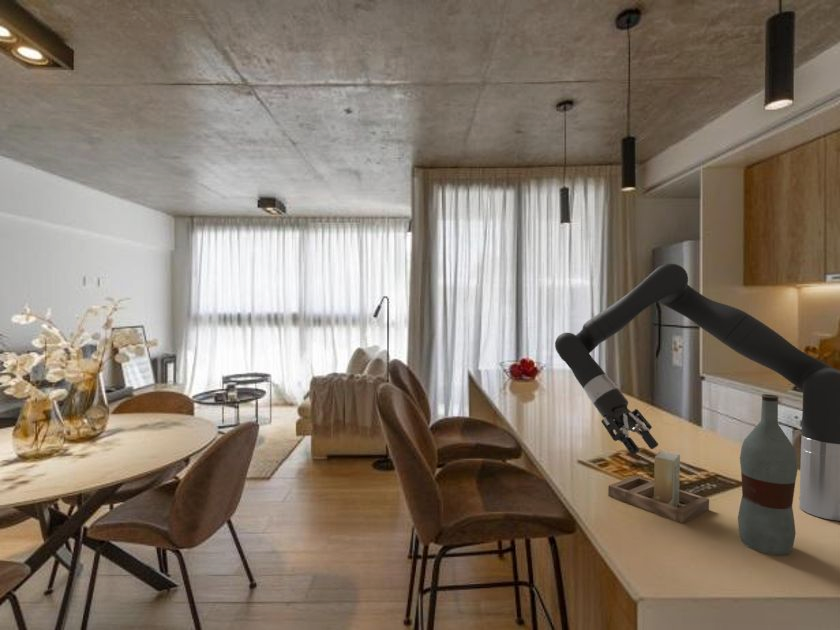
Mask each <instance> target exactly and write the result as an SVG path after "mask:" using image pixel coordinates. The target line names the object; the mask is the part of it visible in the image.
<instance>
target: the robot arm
mask: <svg viewBox="0 0 840 630" xmlns="http://www.w3.org/2000/svg"><path fill="white" fill-rule="evenodd" d="M657 302H658V303H659V304H661V305H663V306H664V307H667V308H668V309H671V310H673V311H674V312H677V313H678V314H679V315H682V316H683V317H685V318H687V319H688V320H691V321H692V322H693V323H694V324H696V325H697V326H698V327H700V328H701V329H702V330H704V331H705V332H707V333H708V334H709V335H711V336H712V337H714V338H715V339H717V340H718V341H720V342H721V343H723V345H725V346H726V347H729V348H730V349H731V350H733V351H734V352H736V353H738V354H739V355H741V356H743V357H745V358H746V359H749V360H751V361H752V362H755V363H756V364H759V365H761V366H762V367H763V366H764V367H765V368H767V369H770V370H772V371H773V372H775V373H777V374H778V375H780V376H782V377H783V378H784V379H786V380H787V381H788V382H790V383H791V384H792V385H794V386H795V387H796V388H797V389H798V390H800V391H801V392H802V410H801V411H802V414H801V415H802V416H801V439H800V440H801V445H800V469H799V471H800V472H799V474H800V475H799V496H798V497H799V498H798V499H799V502H798V503H799V504H798V506H799V507H798V508H799V509H800V510H802V511H804V512H805V513H807V514H809V515H812V516H815V517H817V518H818V517H819V518H822V519H826V520H831V521H839V522H840V370H839V369H837V368H834V367H833V366H831V365H828V364H826V363H825V362H823V361H820V360H818V359H816V358H815V357H812V356H811V355H809V354H807V353H805V352H804V351H802V350H800V349H799V348H797V347H796V346H794V345H793V344H792V343H791V342H790V341H788V340H787V339H786V338H785V337H783V336H781V335H780V334H779V333H778V332H776V331H775V330H774V329H772V328H770V327H769V326H768V325H767V324H765V323H763V322H761V321H760V320H759V319H757V318H755V317H754V316H752V315H751V314H749V313H747V312H746V311H743V310H742V309H739V308H737V307H734V306H731V305H728V304H725V303H721V302H719V301H716V300H712V299H710V298H708V297H706V296H704V295H703V294H701V293H700V292H698V291H697V290H695V289H694V288H693V287H691V286H690V285H689V276H688V273H687V271H686V269H685V268H684V267H682V265H681V266H680V265H679V264H676V263H665V264H663V265H660V266H658V267H657V268H655V269H654V270H653V271H652V272H651V273H650V274H649V275H648V276H647V277H645V278H644V279H643V281H641V282H640V283H639V284H638V285H637V286H635V287H634V288H633V289H632V290H631V291H629V292H628V293H627V294H625V295H624V296H623V297H621V298H620V299H619V300H617V301H615V302H614V303H613V304H611V305H610V306H608V307H607V308H605V309H604V310H603V311H601V312H599V313H598V314H596V315H594V316H593V317H592V318H590V319H588V320H587V321H586V322H585V323H584V324H583V325H582V328H581V330H580V331H579V332H577V333H576V334H574V333H572V332H563V333H561V334H559V335H558V336H557V337H556V339H555V341H554V342H555V343H554V349H555V351H556V352H557V354H558V356H559V357H560V358H561V360H562V361H564V362H565V364H566V365H567V366H568V367H569V368H570V370H571V371H572V373H573V375H574V377H575V379H576V380H577V382H578V383H579V385H580V386H581V387H582V389H583V390H584V392H585V393H586V395H587V397H588V398H589V400H590V401H591V403H592V404H593V406H594V407H595V408H596V409H597V411H598V413H599V414H600V415H601V417H602V419H601V423H602V425H603V426H604V428H605V429H606V431H607V433H608V434H609V435H610V437H611V439H612V440H613V442H617V441H619V442H620V443H622V444H623V445H624V446H625V448H626V449H627V450H628V452H629V453H630V455H632V456H635V455H637V454H638V453H639V452H640V448H639V447H638V445H637V444H636V442H635V441H634V440H633V438H632V437H630V435H629V431H631V432H632V433H636V434H638V435H639V436H640V437H641V438H642V440H643V441H644V442H645V444H646V445H647V446H648V448H649V450H653V449H654V450H655V448H657V447H658V446H659V443H658V442H657V440H656V439H655V438H654V436H653V435H652V434H651V432H650V431H651V429H653V426H652V424H650V423H649V421H648V420H647V419H646V418H645V416H644V415H643V414H642V413H641V412H640V411H639V409H637V408H635V409H633V411H632V410H630V409H629V408H628V405H629V401H628V399H627V398H626V397H625V396H624V394H623V393H622V392H621V390H620V389H619V388H618V386H617V385H616V384H615V383H614V381H613V380H612V379H611V378H610V377H609V376H608V375H607V373H605V371H604V370H603V369H602V367H601V366H600V365H599V364H598V363H597V362H596V360H595V359H594V358H593V357H592V355H591V354H590V353H591V352H593V351H594V350H595V349H596V347H598V346H599V345H600V344H601V343H603V342H604V341H606V340H607V339H609V338H611V337H613V336H614V335H615V334H617V333H618V332H620V331H621V330H623V329H624V328H625V327H626V326H627V325H629V324H630V323H631V322H632V321H633V320H634V319H635V318H636V317H637V316H639V315H640V314H641V313H643V312H644V311H645V310H646V309H647V308H649V307H650V306H652V305H653V304H655V303H657Z"/></svg>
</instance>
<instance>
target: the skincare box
mask: <svg viewBox="0 0 840 630" xmlns="http://www.w3.org/2000/svg"><path fill="white" fill-rule="evenodd" d="M680 467H681V453H680V454H679V453H675V452H670V451H664V450H660V451H659V452H658V453H657V454H656V455H655V456H654V467H653V468H654V470H653V471H654V472H653V475H654V476H653V481H654V496H653V499H654V500H657V501H659V502H662V503H665V504H668V505H671V506H674V507H677V508H678V505H679V504H680V502H679V489H680V474H681V473H680V470H681V469H680Z"/></svg>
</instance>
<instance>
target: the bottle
mask: <svg viewBox="0 0 840 630" xmlns="http://www.w3.org/2000/svg"><path fill="white" fill-rule="evenodd" d="M779 398H780V397H779V396H778V395H775V394H771V393H770V394H769V393H766V394H765V393H762V395H761V407H760V408H761V409H760V411H761V412H760V421H759V422H758V423H757V424H756V425H755V427H754V428H753V429H752V431H750V432H749V434H748V435H747V436H746V437H745V438H744V439H743V441H742V445H741V448H740V455H739V461H740V462H739V464H740V473H741V492H742V493H741V494H742V496H741V500H740V505H739V508H738V509H739V510H738V515H737V523H738V524H737V525H738V531H739V532H738V533H739V537H740V540H741V542H742V543H743V544H744V545H746V546H747V547H748V548H750V549H753V550H755V551H758V552H760V553H764V554H766V555H767V554H769V555H773V556H787V555H789V554H790V553H791V552H792V550H793V547H794V544H795V539H796V538H795V537H796V533H797V532H796V525H795V516H794V510H793V502H794V497H795V496H794V495H795V488H796V487H795V486H796V482H797V481H796V480H797V479H796V478H797V474H798V470H799V467H798V460H797V459H798V458H797V453H796V450H795V447H794V445H793V444H792V442H791V441H790V439H789V438H788V437H787V435H786V433H785V432H784V430H783V429H782V427H781V426H780V424H779V423H778V422H779V421H778V420H779V419H778V418H779Z"/></svg>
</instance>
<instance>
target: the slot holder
mask: <svg viewBox="0 0 840 630" xmlns="http://www.w3.org/2000/svg"><path fill="white" fill-rule="evenodd" d="M607 487H608V490H607V492H608V493H607V494H608V495H607V496H608V497H610V498H614V499H616V500H619V501H621V502H625V503H627V504H629V505H632V506H635V507H638V508H640V509H643V510H646V511H647V512H651V513H654V514H656V515H660V516H662V517H664V518H667V519H671V520H673V521H674V522H678V523H681V524H685V523H686V522H688V521H690V520H692V519H693V518H696V517H697V516H700V515H701V514H703V513H705V512H707V511H709V509H710V499H709V498H708V497H704V496H701V495H698V494H694V493H692V492H689V491H686V490H684V489H683V490H682V489H680V488H679V503H682V504H685V505H682V506H680V507H679V508H678V506H677V507H674V506H671V505H668V504H665V503H662V502H659V501H657V500H654V498H652V497H654V480H651V479H648V478H644V477H641V476H638V475H634V476H631V477H628V478H625V479H623V480H620V481H618V482H615V483H612V484H609V485H608V486H607Z"/></svg>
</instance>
